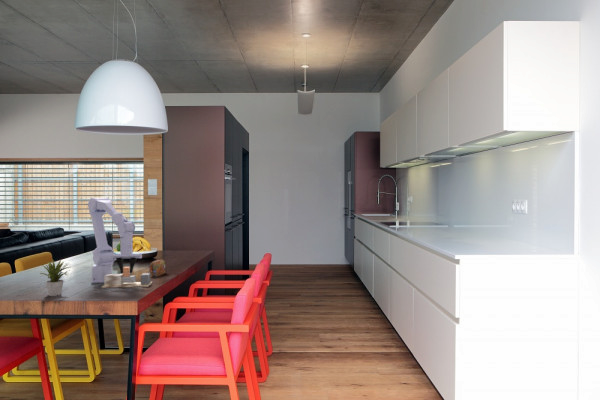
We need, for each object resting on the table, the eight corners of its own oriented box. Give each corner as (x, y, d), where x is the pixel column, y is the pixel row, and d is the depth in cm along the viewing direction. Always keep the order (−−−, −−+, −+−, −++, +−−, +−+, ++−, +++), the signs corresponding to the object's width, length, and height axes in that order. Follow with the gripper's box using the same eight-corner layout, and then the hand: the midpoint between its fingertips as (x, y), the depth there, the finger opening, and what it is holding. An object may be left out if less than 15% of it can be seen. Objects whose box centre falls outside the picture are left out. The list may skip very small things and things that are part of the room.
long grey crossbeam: (104, 283, 234) (104, 268, 234) (106, 282, 237) (106, 267, 237) (134, 282, 236) (134, 267, 236) (135, 281, 239) (135, 266, 239)
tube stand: (101, 287, 230) (101, 276, 230) (107, 283, 240) (107, 273, 240) (148, 286, 233) (148, 275, 233) (152, 282, 243) (152, 272, 243)
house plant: (67, 297, 207) (67, 260, 207) (33, 299, 204) (32, 261, 204) (76, 291, 221) (75, 256, 221) (43, 292, 218) (43, 257, 218)
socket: (140, 284, 235) (140, 275, 235) (143, 282, 241) (143, 273, 241) (148, 284, 235) (148, 274, 235) (150, 282, 241) (150, 273, 241)
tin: (153, 277, 260) (153, 262, 260) (148, 277, 261) (148, 262, 261) (166, 273, 275) (166, 258, 275) (161, 272, 275) (161, 258, 275)
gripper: (109, 246, 232) (109, 274, 232) (139, 246, 233) (139, 273, 234) (113, 245, 239) (113, 272, 239) (142, 244, 240) (142, 271, 241)
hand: (126, 272), depth 237 cm, fingers open, 4 cm apart
